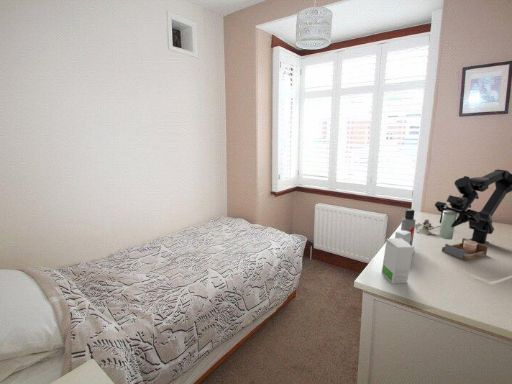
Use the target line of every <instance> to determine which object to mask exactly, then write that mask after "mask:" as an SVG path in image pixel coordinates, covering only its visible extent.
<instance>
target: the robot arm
mask: <svg viewBox="0 0 512 384" xmlns="http://www.w3.org/2000/svg"><path fill="white" fill-rule="evenodd" d="M492 184H494V186H495V189H494V191H493V193H492V194H491V195H490V197H489V198H488V199H487V201H486V203H485V204H484V206H483V207H482V209H480V211H477V210H474V209H471V208H472V204H473V203H474V201H475V200H479V199H480V197H479V193H480V192H481V193H484V192H486V191H487V190H488V189H489V186H490V185H492ZM454 186H455V187H456V189H457V192H458V193H459V194H460V195H459V196H454V195H452V194H451V195H450V194H449V195H448V197H447V199H446V202H447V203H449V206H448V205H447V203H446V202H443V201H436V202H435V203H434V207H435V208H436V210H437V211H439V212H440V218H439V224H441V221H442V215H443V210H452V211H456V212H457V215H458V216H457V217H456V220H455V222H454V223H453V224H452V227H457V226H460V225H463V224H465V223H467V222H468V226H469V227H468V228H469V230H470V229H471V230H473V232H472V236H471V238H469V240H471V241H475V242H477V243H480V244H482V245H485V244H490V242H489V241H487V239H488V235H493V233H494V230H495V228H494V226H493V216H494V213H495V211H497V209H498V207H499V206H500V205H501V203H502V201H503V200H504V199H505V197H506V195H507V194H508V193H511V192H512V173H510V171H509V170H507V169H495V170H494V171H492V172H490V173H488V174H486V175H483V176H477V177H476V176H475V177H471V178H470V176H467V175H464V176H463V177H461V178H458V179H456V180H455V181H454ZM478 192H479V193H478ZM450 206H451V207H450Z"/></svg>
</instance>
